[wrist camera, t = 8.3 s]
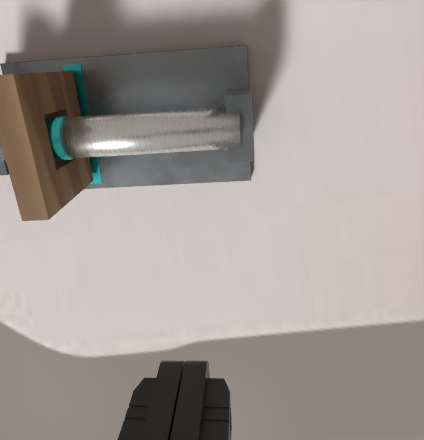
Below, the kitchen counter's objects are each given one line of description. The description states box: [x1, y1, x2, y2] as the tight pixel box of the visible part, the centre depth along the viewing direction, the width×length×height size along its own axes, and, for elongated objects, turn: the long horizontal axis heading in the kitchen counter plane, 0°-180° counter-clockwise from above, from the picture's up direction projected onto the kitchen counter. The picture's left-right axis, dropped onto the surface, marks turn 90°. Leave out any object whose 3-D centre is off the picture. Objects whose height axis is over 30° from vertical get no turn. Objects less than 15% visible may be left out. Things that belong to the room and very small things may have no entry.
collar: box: [0, 71, 93, 221], centre depth 31 cm, size 2×10×10 cm, turn 4°
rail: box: [0, 45, 254, 189], centre depth 33 cm, size 22×12×8 cm, turn 94°
